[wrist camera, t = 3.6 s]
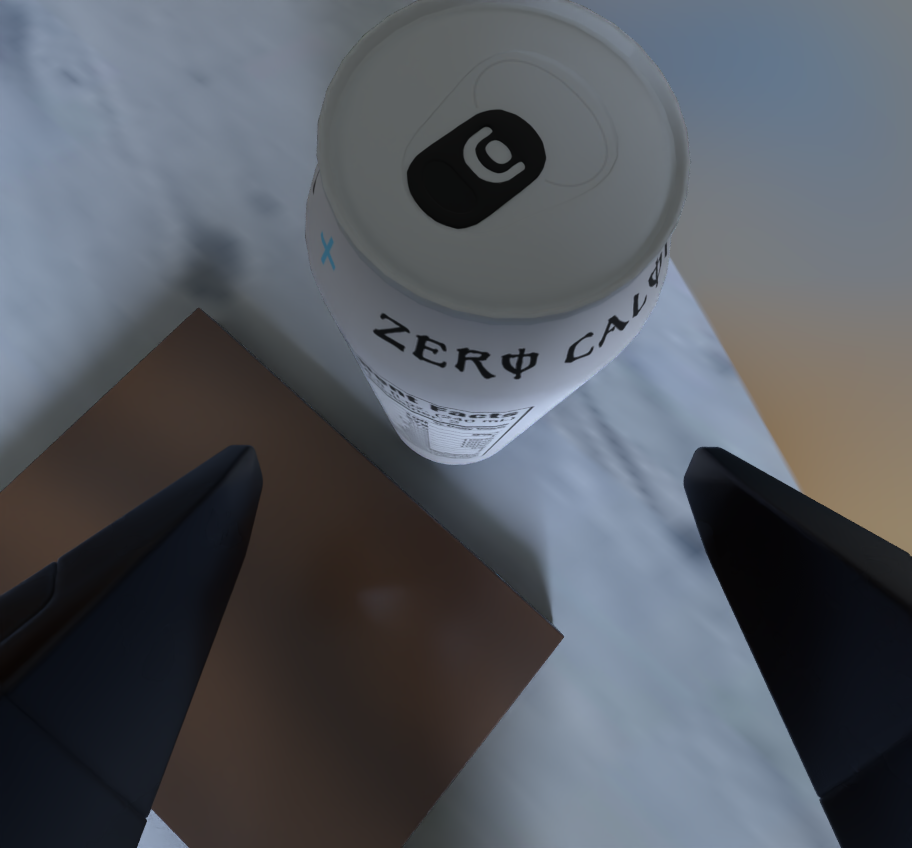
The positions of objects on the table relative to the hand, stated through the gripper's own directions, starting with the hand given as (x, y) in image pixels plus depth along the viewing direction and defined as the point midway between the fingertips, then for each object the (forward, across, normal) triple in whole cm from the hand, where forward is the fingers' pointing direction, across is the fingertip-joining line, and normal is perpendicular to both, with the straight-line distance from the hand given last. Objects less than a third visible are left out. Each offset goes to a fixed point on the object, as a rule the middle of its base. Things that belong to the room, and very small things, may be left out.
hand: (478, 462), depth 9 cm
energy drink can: (+10, 0, +5) cm, 12 cm away
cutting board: (+4, +8, +11) cm, 14 cm away
